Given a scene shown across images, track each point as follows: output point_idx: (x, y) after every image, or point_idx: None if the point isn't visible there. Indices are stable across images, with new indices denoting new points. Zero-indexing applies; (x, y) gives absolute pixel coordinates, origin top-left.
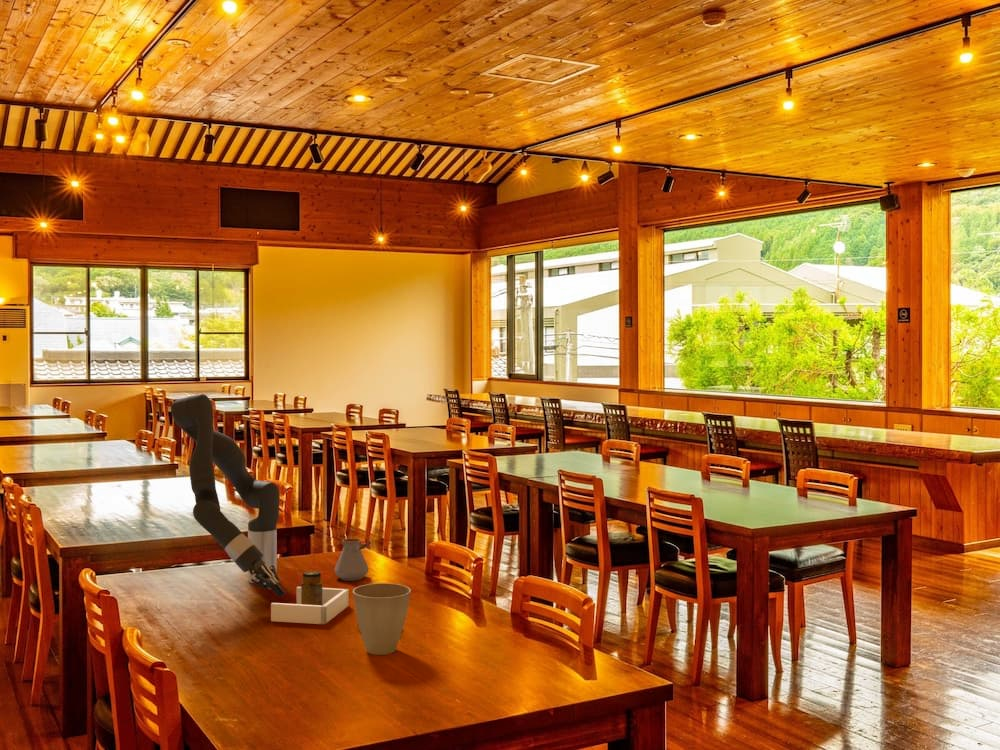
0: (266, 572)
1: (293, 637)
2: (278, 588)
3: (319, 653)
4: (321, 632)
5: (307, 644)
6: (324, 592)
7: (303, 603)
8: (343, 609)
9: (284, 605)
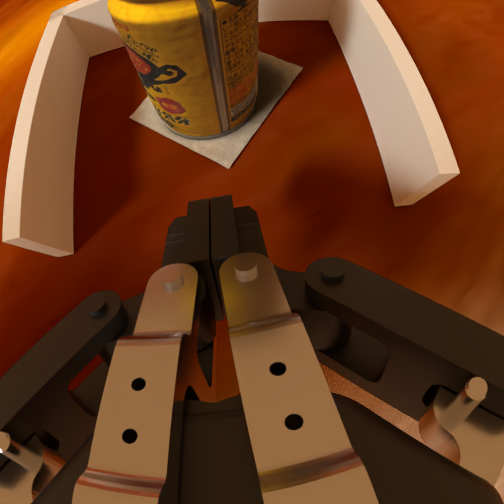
0: (307, 409)
1: (483, 64)
2: (237, 234)
3: (497, 10)
4: (408, 10)
5: (488, 30)
6: (51, 87)
7: (253, 76)
8: None
9: (427, 97)
